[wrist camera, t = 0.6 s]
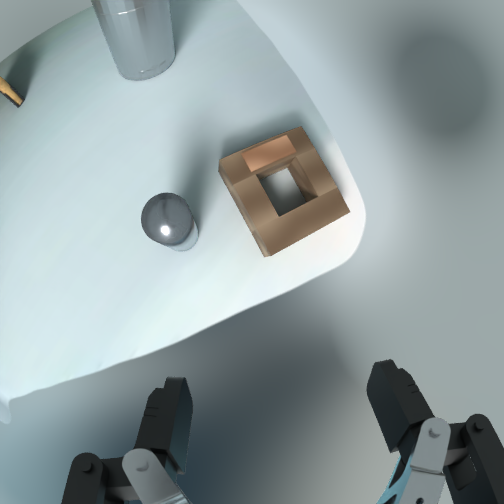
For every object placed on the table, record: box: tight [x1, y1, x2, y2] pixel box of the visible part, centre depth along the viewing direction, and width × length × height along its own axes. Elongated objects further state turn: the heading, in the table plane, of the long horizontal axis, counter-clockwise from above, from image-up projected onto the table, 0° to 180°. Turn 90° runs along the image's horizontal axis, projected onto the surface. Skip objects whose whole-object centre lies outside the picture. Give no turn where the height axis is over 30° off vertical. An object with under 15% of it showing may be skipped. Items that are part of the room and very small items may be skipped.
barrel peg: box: [141, 193, 198, 251], centre depth 27 cm, size 4×4×12 cm
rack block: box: [218, 126, 350, 257], centre depth 33 cm, size 12×11×4 cm
